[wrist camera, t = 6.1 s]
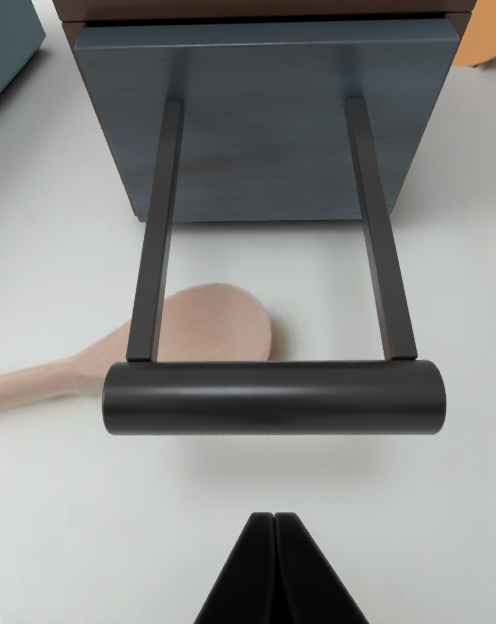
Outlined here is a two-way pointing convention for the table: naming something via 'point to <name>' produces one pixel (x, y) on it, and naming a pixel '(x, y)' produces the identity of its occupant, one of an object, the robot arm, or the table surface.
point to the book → (17, 37)
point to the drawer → (268, 199)
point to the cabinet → (245, 3)
